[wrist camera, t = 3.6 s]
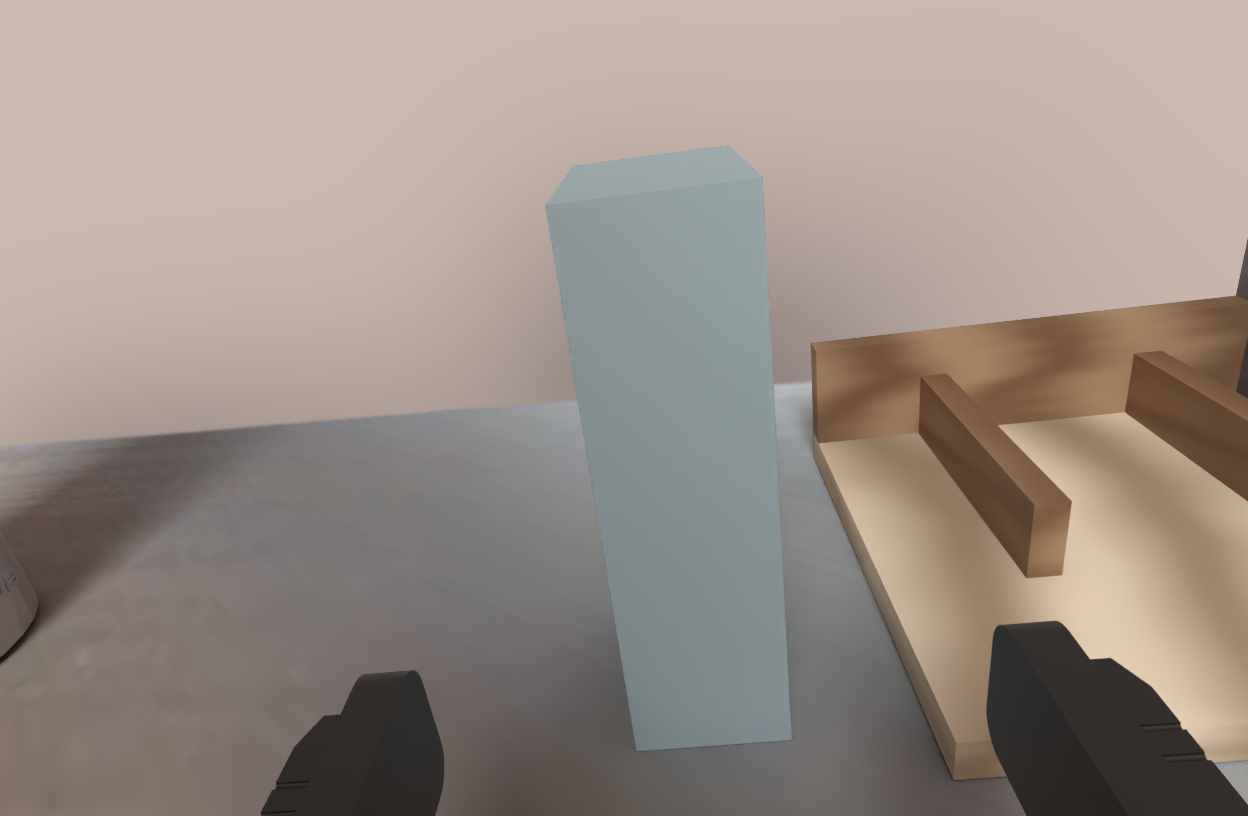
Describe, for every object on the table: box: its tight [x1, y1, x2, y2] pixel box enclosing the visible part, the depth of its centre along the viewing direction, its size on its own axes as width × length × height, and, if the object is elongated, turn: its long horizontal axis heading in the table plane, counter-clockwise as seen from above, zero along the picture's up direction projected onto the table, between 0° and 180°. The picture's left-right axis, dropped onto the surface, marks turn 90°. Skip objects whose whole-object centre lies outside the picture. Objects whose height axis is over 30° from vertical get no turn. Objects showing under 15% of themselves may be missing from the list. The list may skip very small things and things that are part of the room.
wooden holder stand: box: [811, 240, 1248, 780], centre depth 21 cm, size 18×16×15 cm
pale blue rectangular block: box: [545, 145, 792, 751], centre depth 19 cm, size 4×6×14 cm, turn 178°
